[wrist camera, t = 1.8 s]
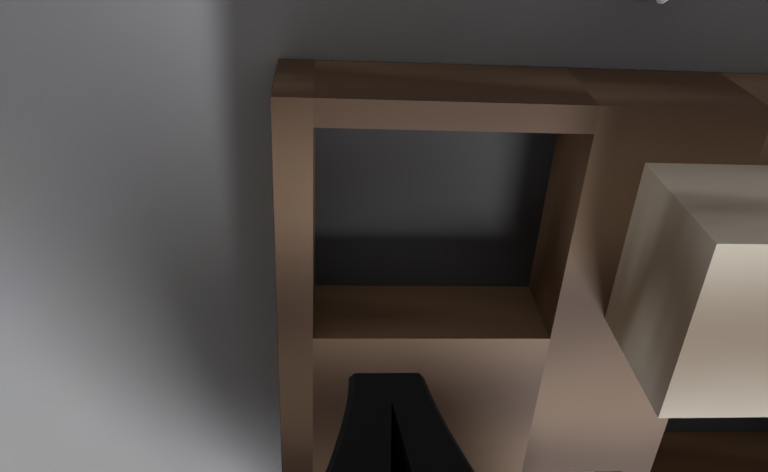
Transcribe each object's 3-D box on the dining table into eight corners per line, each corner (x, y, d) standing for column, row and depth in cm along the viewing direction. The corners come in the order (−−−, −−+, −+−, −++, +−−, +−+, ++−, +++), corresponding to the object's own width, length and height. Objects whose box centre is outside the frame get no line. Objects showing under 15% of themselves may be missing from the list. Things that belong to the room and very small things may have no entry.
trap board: (931, 441, 29) (1034, 550, 25) (287, 449, 27) (279, 570, 23) (1150, 85, 22) (1352, 154, 17) (278, 58, 19) (263, 129, 15)
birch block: (767, 318, 21) (851, 416, 18) (604, 318, 21) (658, 418, 18) (828, 166, 19) (940, 246, 15) (645, 162, 18) (717, 243, 15)
